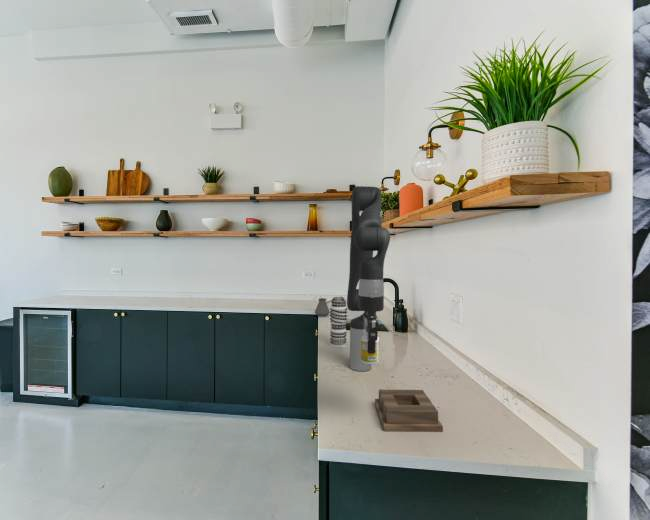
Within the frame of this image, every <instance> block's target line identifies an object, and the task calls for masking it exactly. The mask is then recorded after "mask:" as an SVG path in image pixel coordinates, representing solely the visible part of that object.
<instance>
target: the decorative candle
mask: <svg viewBox="0 0 650 520" xmlns="http://www.w3.org/2000/svg"><path fill="white" fill-rule="evenodd" d="M330 301H332V302H331V306H330V308H329V311H330V313H329V316H330V318H329V320H330V327H331V328H330V335H329V336H330V338H329V339H330V341H329V344H330V346H331V347H332V348H333V347H334V348H344V347H346V346H347V338H346V337H347V327H346V325H347V320H348V318H347V317H348V315H347V314H348V307H347V299H345V297H344V296H335V297H332V299H331V300H330Z"/></svg>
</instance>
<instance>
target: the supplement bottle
mask: <svg viewBox="0 0 650 520" xmlns="http://www.w3.org/2000/svg"><path fill="white" fill-rule="evenodd" d="M371 336H374V333H371ZM377 337H378V339H377V340H376V351H375V353H374V354H369V353H368V339H367V338H368V336H367V333H366V328H365V329H364V336H362V338H361V361H362V362H363V363H366V364H372V365H375V364H378V363H379V361H380V338H379V336H377Z"/></svg>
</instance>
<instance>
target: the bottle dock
mask: <svg viewBox="0 0 650 520" xmlns="http://www.w3.org/2000/svg"><path fill="white" fill-rule="evenodd" d="M374 405H375V408H376V410H377V413H378V417H379V420H380V423H381V425H382V429H383V432H417V433H418V432H426V433H427V432H434V433H435V432H437V433H438V432H439V433H441V432H444V426H443V423H441V422H440V420H439V411H438V409H437V408H436V406H435V405H434V404H433V402H432V401H431V400H430V398H429V397H428V396H427V394H426V392H425V391H424V389H381V388H379V389H378V398H374Z"/></svg>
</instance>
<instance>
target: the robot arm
mask: <svg viewBox="0 0 650 520" xmlns="http://www.w3.org/2000/svg"><path fill="white" fill-rule="evenodd" d="M360 212H361V213H360ZM381 212H382V191H381V189H380V188H379V187H377V186H362V185H361V186H354V187H353V189H352V192H351V233H350V246H349V247H350V248H349V275H348V285H347V294H346V295H347V297H346V308H347V310H349V311H351V312H363V313H362V314H361V315H358V316H356V317H355V318H352V319H351V320H350V323H349V326H350V327H349V329H350V330H349V368H350V369H351V370H353V371H357V372H368V371H370V370H372V366H373V364H366V363H363V362H362V361H361V338H362V336H364V329H365V328H366V333H367V336H368V338H367V339H368V353H369V354H374V353H375V351H376V340H377V339H378V337H379V336H378V331H379V329H378V328H379V317H378V315H377V312H382V311H383V310H384V305H385V302H384V299H385V285H384V264H385V259H386V255H387V251H388V248H389V245H390V241H391V233H390V231H389V230H388V229H387V228H386V227H383V225H382V219H381V214H382V213H381ZM376 251H377V252H376ZM374 252H376V255H375V256H374ZM357 287H358V288H357ZM371 333H374V336H371ZM377 336H378V337H377Z"/></svg>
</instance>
